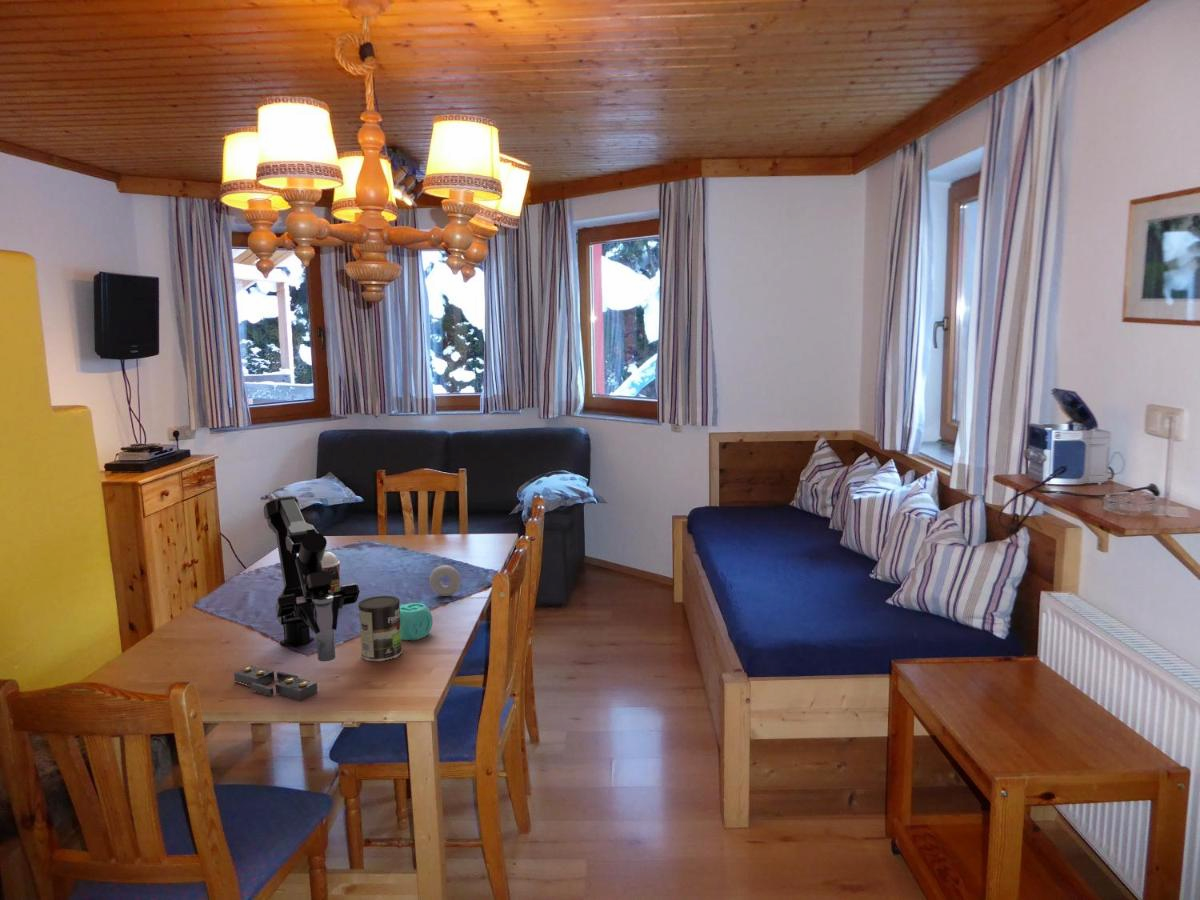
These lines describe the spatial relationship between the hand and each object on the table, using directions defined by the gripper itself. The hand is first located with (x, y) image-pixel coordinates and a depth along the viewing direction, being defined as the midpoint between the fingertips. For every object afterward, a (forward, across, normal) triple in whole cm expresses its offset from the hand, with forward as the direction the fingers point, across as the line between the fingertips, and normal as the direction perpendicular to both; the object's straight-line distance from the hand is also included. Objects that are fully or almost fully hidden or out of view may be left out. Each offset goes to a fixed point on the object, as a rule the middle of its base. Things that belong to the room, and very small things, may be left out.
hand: (326, 631), depth 198 cm
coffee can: (+1, +16, +18) cm, 25 cm away
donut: (-24, +48, +44) cm, 69 cm away
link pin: (+4, 0, +6) cm, 7 cm away
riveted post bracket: (+5, -11, +14) cm, 18 cm away
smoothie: (-32, +15, +52) cm, 62 cm away
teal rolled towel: (-5, +28, +24) cm, 37 cm away
